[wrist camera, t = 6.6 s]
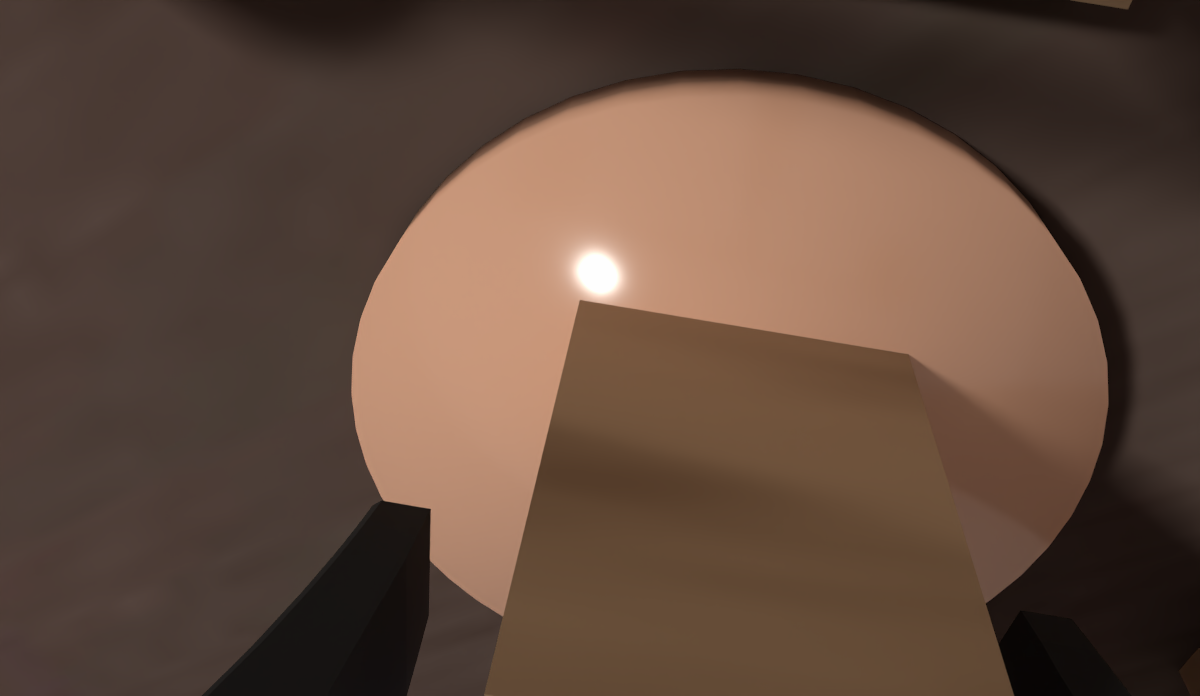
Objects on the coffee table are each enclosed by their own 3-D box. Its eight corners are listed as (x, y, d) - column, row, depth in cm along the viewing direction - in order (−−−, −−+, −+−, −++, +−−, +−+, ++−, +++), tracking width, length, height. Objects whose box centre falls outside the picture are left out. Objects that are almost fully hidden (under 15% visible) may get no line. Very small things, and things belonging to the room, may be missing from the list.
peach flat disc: (930, 673, 17) (941, 720, 16) (379, 578, 17) (362, 619, 16) (1241, 146, 11) (1283, 180, 10) (361, 3, 11) (333, 24, 10)
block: (818, 573, 14) (870, 1002, 10) (549, 527, 14) (465, 929, 10) (908, 354, 12) (1043, 791, 7) (580, 300, 12) (484, 694, 7)
